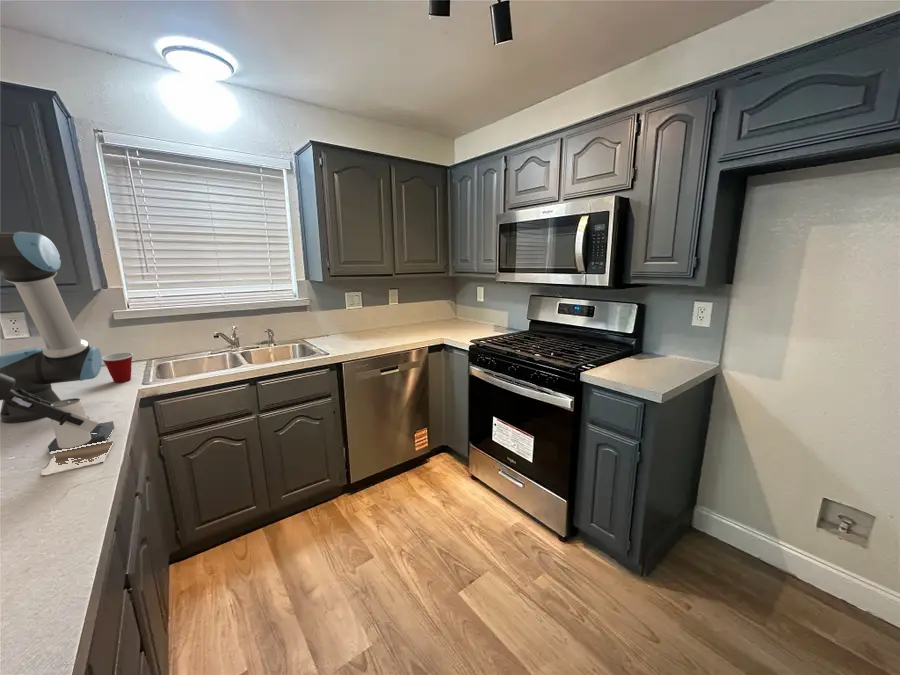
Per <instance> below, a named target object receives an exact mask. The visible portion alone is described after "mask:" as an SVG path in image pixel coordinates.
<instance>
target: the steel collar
mask: <svg viewBox="0 0 900 675" xmlns="http://www.w3.org/2000/svg"><path fill="white" fill-rule="evenodd" d="M113 429H114V430H115V424H114V421H113V420H111V421H107V422H105V421H104V422H101V423H99V422H98V424H97V426H96V427H95V428H94V429H93V430H92V432H90V434H91V433H97V434H94V435H91V440H90V441H89V442H88V443H86V444H84V445H87V444H92V443H97V442H102V441H106V440H107V438H108V437H109V435H110V434H111V432H112V430H113ZM114 430H113V431H114ZM112 433H113V432H112ZM111 435H112V434H111ZM111 435H110V436H111ZM109 438H110V437H109ZM47 448H48V451H49V452H51V451H56V450H62V449H61V448H59V447H58V443H57V439H56V437H55V438H54V439H53V440H52V441H51V442H50V444H48V446H47Z"/></svg>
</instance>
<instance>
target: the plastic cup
mask: <svg viewBox="0 0 900 675" xmlns="http://www.w3.org/2000/svg"><path fill="white" fill-rule="evenodd" d="M133 357H134V353H133V352H115V353H110V354H107V355H106V354H105V355H104V356H101V358H102V361H103V363H104V365H105V366H106V368H107V370H108V372H109V375H110V376H111V379H112V381H113V382H114V383H115V384H121V383H126V382H129V381H131V380H132V363H133V362H132V360H133Z"/></svg>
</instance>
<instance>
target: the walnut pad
mask: <svg viewBox="0 0 900 675" xmlns="http://www.w3.org/2000/svg"><path fill="white" fill-rule="evenodd" d="M112 443H113V444H114V441H113V440H112V441H107V442H106V443H101V444H96V445H91V446H86V447H81V448H77V449H72V450H67V451H62V452H57V453H56V454H53V456H55V458H56V461H55V462H56V463H58V465H62V464H68V463H66V462H65V461H69V460H68V458H74V459H77V460H74V459H71V460H74V461H72V463H73V462H78V463H83V462H80V461H82V460H84V459H86V460H87V459H88V461H89V462H92V461H94V459H92V458H94V457H98V456H100V455H102V454H104V453H107V452H108V450H109V448H110V446H111V445H112ZM105 455H106V454H105ZM78 458H81V459H78ZM98 458H99V457H98ZM90 459H91V460H90ZM95 459H97V458H95ZM84 462H87V461H84ZM59 463H60V464H59ZM78 463H75V464H77V465H79V464H78Z"/></svg>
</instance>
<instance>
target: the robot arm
mask: <svg viewBox="0 0 900 675" xmlns="http://www.w3.org/2000/svg"><path fill="white" fill-rule="evenodd" d="M60 258H61V256H60V253H59V250H58V249H57V247H56V245H55V243H54V242H52V240H51V239H49V237H47V236H45V235H43V234H41V233H38V232H28V231H0V273H1V276H2V277H3V279H4V281H5V282H8V283H11V284H14V285H15V287H16V288H15V289H16V290H17V292H18V294H19V295H20V297H21V300H22V301H23V304H24V305H25V307H26V309H27V311H28V313H29V315H30V317H31V320H32V321H33V323H34V325H35V327H36V329H37V331H38V333H39V335H40V337H41V339H42V341H43V343H44V345H45V347H44V348H42V347H40V346H36V347H30V348H24V349H18V350H14V351H11V352H6V353H3V354H0V401H2V403H1V408H0V421H1V423H4V422H5V423H6V424H11V423H12V424H15V423H14V422H16V423H22V421H24V422H29V421H32V420H33V421H34V420H38V419H41V418H42V419H43V418H47V419H49V420H51V421H52V420H55V421H58V422H59V423H60V424H59V425H63V424H64V423H66V424H68V425H71V426H74V427H77V428H80V429H83V430H86V431H88V432H92V430H93V429H94V428H95V427H96V426H97V424H99V422H97V421H94V420H92V419H91V417H90V416H88V415H86V416H87V418H84V417H81V416H79V415H76V414H73V413H70V412H66V411H63V410H61V409H58V408H55V407H53V406H51V404H53V403H55V402H58V401H61V400H62V399H60V397H59V396H58V394H57V393H56V392H55V391H54V390H53V388H52V385H53V384H59V383H61V384H62V383H68V382H77V381H78V382H79V381H80V382H82V381H86V380H92V379H95V378H96V377H98V375H99V374H100V372H101V369H102V368H101V367H102V361H103V360H102V353H101V350H100V348H98V347H96V346H91V347H90V344H89V343H88V341H87V340H86V339H82V338H80V336H79V333H78V332H77V329H76V328H75V325H74V322H73V321H72V318H71V316H70V314H69V313H70V312H69V311H68V309H67V307H66V305H65V302H64V301H63V298H62V295H61V293H60V291H59V289H58V286H57V284H56V282H55V280H54V278H55V277H56V276H57V274H58V270H60V268H61V264H62V260H61V259H60Z"/></svg>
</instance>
